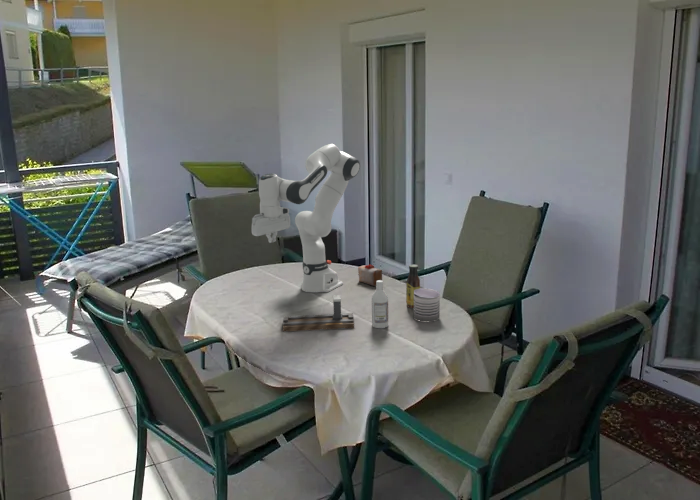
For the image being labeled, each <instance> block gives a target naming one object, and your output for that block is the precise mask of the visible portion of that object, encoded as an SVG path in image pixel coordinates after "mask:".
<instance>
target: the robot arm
mask: <svg viewBox="0 0 700 500" xmlns="http://www.w3.org/2000/svg"><path fill="white" fill-rule="evenodd" d="M305 168H306V172H307V173H308V175H307V176H305V178H304V179H302V180H291V179H285V178H282V177H280V176H278V175H277V174H276V173H266V174H263V175H262V176H260V178H259V181H258V196H259V201H260V202H259V213H258V214H255V215H254V216H253V217H251V234H252V236H255V237H259V236H264V235H265V237H267V240H268V243H269V244H271V243H274V242H276V241H277V236H278V232H279V231H284V230H288V229H290V228H291V216H290V214H289V213H290V208H288V207H283V206H281V203H280V202H281V201H282V202H285V203H286V202H287V203H292V204H295V205H302V204H304V203H305V202H306V201H307V200H308V198H309V196H310V195H311V193H312V192H313V191H314V190H315V189H316V187H318V186H319V184H320V183H322V181H323V180H324V179H325V178H326V177H327V178H326V179H325V181H324V182H323V184H322V185H321V187H320V189H319V190H318V191H317V194H316V195H315V199H314V200H315V203H314V207H313V210H312V211H311V210H303V211H299V212H298V213H297V214H296V216H295V219H294V223H295V226H296V228H297V229H298V234H299V237H300V241H301V245H302V256H303V257H302V260H303V261H302V282H301V287H300V288H301V290H302V291H303V292H307V293H329V292H331V291H332V290H335V289H337V288H338V287H341V286H342V285H343V284H344V282H343V281H342V280H340V279H339V275H338V272H336V271H335V270H333V269H332V268H330V267H329V265H332V261H331V260H329V259H327V260H326V247H325V246H326V245H325V243H324V242H323V239H322V238H325V237H327V236H328V235H329V234H330V233H331V231H332V219H333V216H334V212H335V210H336V208H337V206H338V204H339V202H340V200H341V198H342V197H343V196H344V194H345V191H346V189H347V187H348V184H349V181H350V180H351V179H353V178H355V177H356V176H357V175H358V174H359V172H360V170H361V162H360V160H359V159H358V158H357V157H355V156H352V155H351V154H349V153H347V152H345V151H341V149H340V148H339V147H338V146H337V145H335V144H333V143H329V144H325V145H323V146H321V147H319V148H318V149H316V150H315V151H314V152H312V153H311V154H310V155H308V156H307V158H306V160H305ZM329 171H330V172H331V173H329V175H328V176H327V174H328V172H329Z"/></svg>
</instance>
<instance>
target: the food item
mask: <svg viewBox="0 0 700 500" xmlns="http://www.w3.org/2000/svg"><path fill="white" fill-rule="evenodd" d="M374 264H375V263H374ZM374 264H371V263H369V264H367V265H361V266H358V267H357V270H358V271H357V272H358V274H357V275H358V281H359V282H360V283H363V284H367V285H369V286H372V287H376V281H378V280H382V281H383V269H380V268H378V267H377V268H376V267H375V265H374Z"/></svg>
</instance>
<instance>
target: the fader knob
mask: <svg viewBox="0 0 700 500" xmlns="http://www.w3.org/2000/svg"><path fill="white" fill-rule="evenodd" d="M332 300H333V301H332V303H333V304H332V305H333V314H334V315H333V320H340V319H342V314H343V313H342V307H341V306H342V305H341V304H342V303H341V302H342V298H341V294H339V295H338V294H337V295H335V294H334V295H332Z"/></svg>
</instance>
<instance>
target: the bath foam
mask: <svg viewBox="0 0 700 500" xmlns="http://www.w3.org/2000/svg"><path fill="white" fill-rule="evenodd" d="M375 287H376V289H375V291H374V292H373V293H372V295H371V326H372V327H373V328H375V329H386V328H388V326H389V298H388V297H389V296H388V295H387V293H386V291H385V290H384V281H383V279H382V280H378V281H376V286H375ZM385 327H386V328H385Z"/></svg>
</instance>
